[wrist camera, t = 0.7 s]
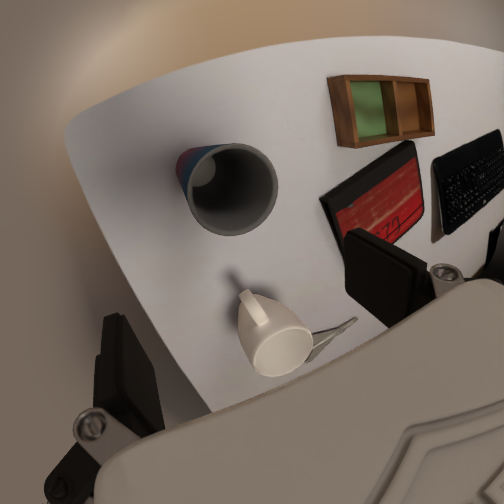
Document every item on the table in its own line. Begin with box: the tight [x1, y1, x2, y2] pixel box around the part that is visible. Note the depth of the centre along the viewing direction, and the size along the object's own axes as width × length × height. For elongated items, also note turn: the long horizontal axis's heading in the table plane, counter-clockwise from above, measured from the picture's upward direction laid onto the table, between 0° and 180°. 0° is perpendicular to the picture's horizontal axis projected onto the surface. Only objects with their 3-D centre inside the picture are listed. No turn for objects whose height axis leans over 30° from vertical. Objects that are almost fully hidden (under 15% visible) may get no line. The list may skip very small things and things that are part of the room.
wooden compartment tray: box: [327, 75, 435, 149], centre depth 37 cm, size 10×20×4 cm, turn 102°
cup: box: [176, 143, 278, 236], centre depth 27 cm, size 7×7×15 cm
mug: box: [238, 289, 313, 377], centre depth 38 cm, size 12×8×11 cm
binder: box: [320, 140, 424, 260], centre depth 45 cm, size 16×2×21 cm
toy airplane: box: [306, 318, 358, 363], centre depth 52 cm, size 8×21×2 cm, turn 110°
